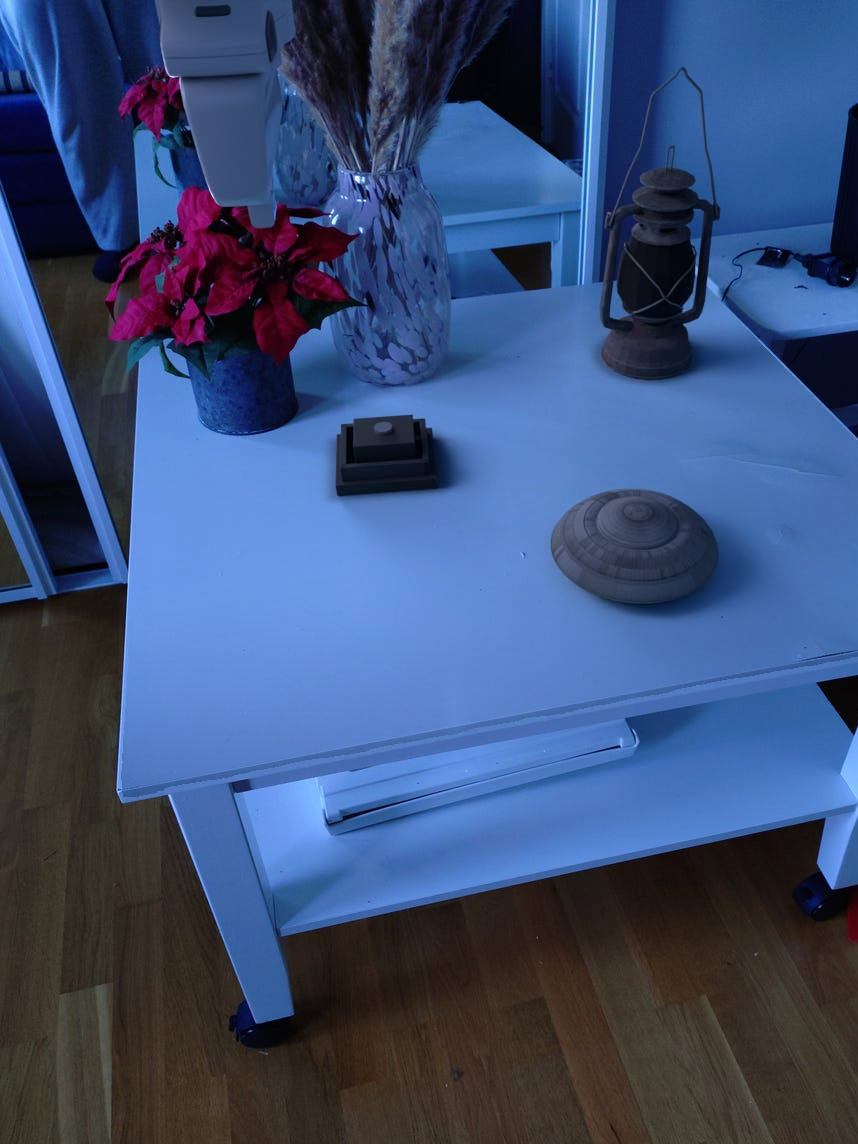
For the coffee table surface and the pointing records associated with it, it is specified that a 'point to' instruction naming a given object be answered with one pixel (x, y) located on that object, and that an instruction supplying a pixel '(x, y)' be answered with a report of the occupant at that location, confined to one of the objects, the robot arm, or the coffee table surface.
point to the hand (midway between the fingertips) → (265, 220)
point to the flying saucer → (635, 546)
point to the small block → (384, 439)
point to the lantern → (657, 269)
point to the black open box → (385, 466)
